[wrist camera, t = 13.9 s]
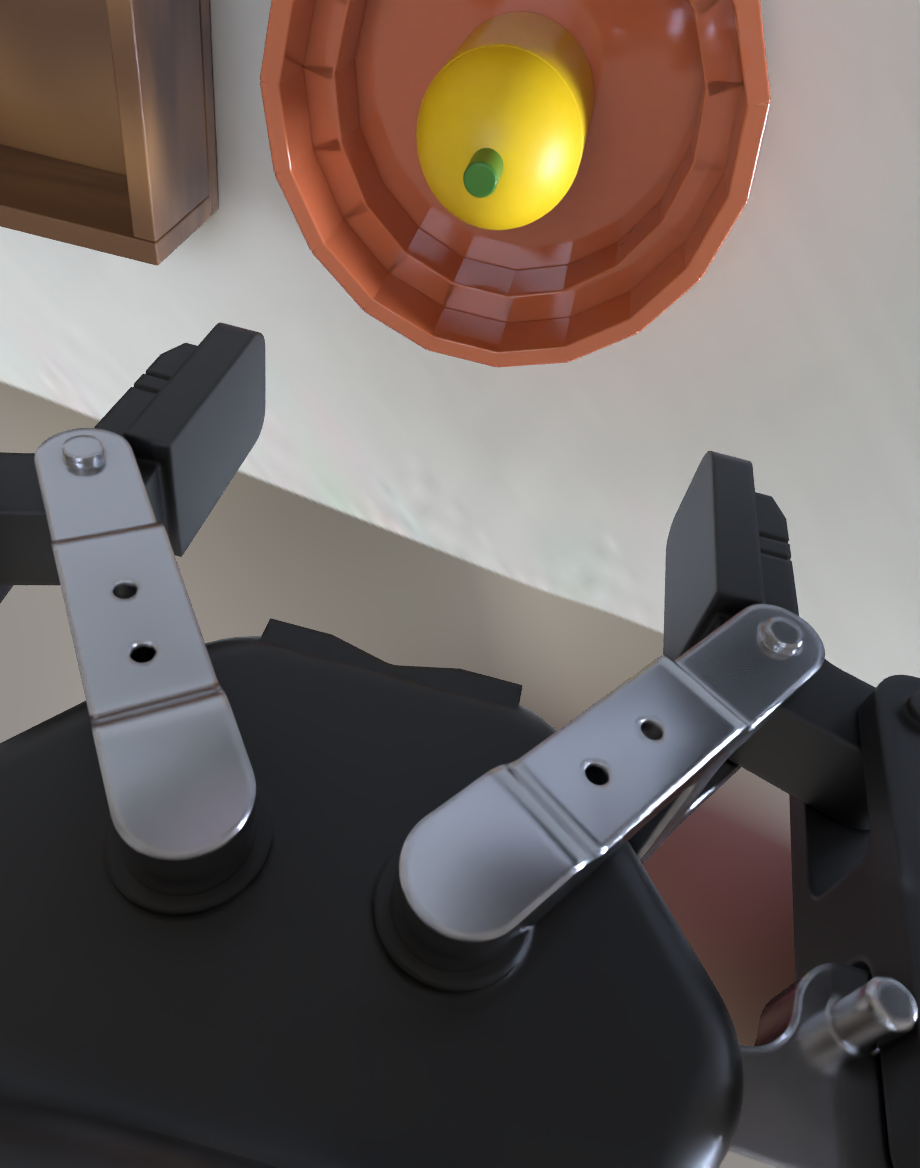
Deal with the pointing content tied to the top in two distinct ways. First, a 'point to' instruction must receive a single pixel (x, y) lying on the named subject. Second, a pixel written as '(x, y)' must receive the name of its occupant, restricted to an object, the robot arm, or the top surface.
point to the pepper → (506, 121)
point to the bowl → (566, 233)
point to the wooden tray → (107, 123)
